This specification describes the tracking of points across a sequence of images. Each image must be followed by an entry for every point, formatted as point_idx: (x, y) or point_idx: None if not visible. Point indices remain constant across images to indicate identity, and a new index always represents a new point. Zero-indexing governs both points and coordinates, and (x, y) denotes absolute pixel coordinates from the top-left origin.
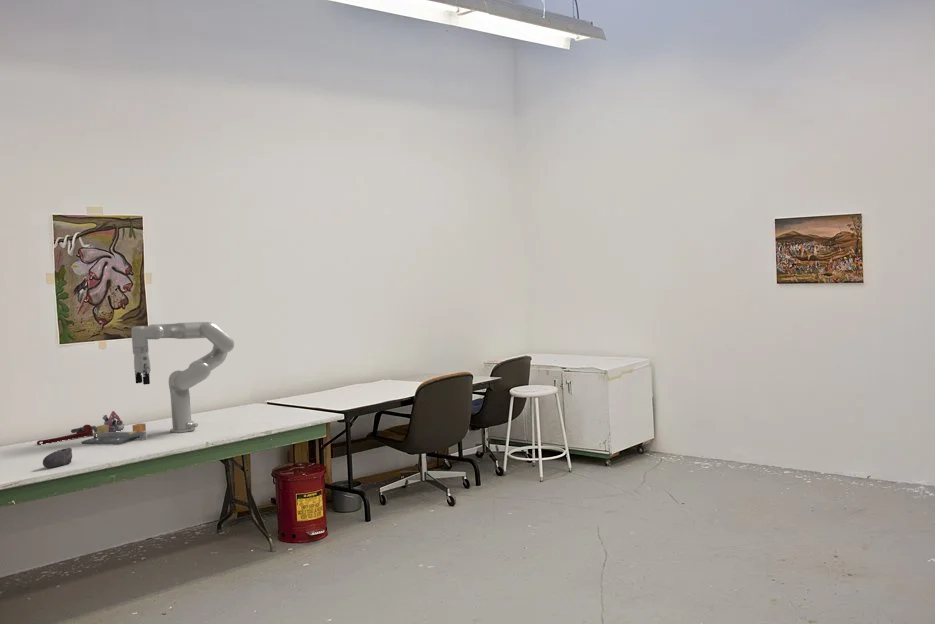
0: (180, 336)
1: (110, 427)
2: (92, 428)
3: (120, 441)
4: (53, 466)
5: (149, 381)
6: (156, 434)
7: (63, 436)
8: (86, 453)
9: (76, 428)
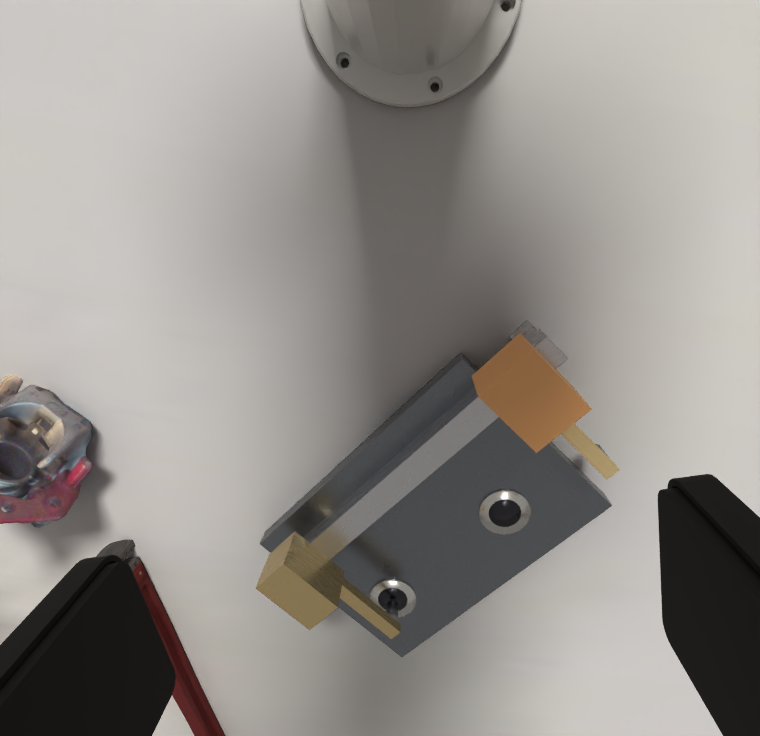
0: None
1: (77, 482)
2: None
3: (610, 503)
4: None
5: (751, 520)
6: (411, 224)
7: (185, 702)
8: None
9: None
